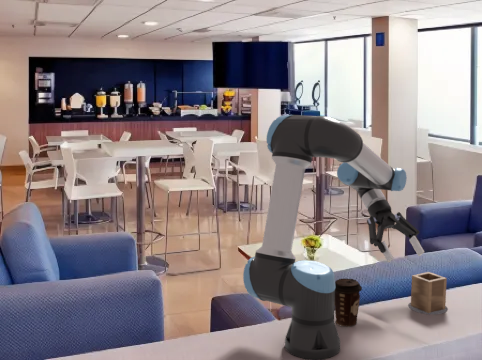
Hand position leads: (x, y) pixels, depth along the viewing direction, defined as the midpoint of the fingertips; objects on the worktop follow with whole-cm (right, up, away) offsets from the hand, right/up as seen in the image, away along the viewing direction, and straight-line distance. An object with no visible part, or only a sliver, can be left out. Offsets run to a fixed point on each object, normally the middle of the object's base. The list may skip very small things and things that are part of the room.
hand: (406, 257), depth 197 cm
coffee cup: (-22, -18, -15) cm, 33 cm away
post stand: (+5, -16, -7) cm, 18 cm away
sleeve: (+5, -15, -7) cm, 17 cm away
